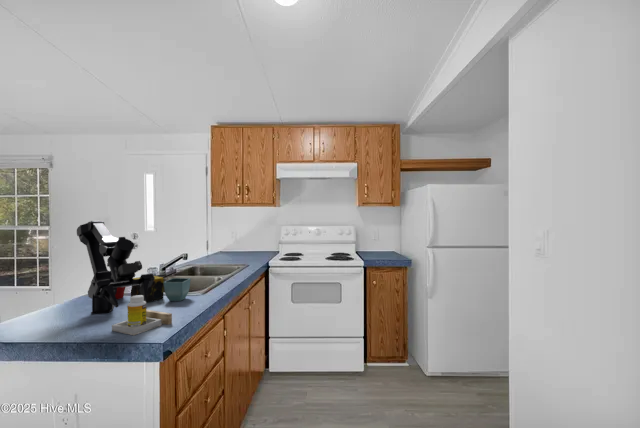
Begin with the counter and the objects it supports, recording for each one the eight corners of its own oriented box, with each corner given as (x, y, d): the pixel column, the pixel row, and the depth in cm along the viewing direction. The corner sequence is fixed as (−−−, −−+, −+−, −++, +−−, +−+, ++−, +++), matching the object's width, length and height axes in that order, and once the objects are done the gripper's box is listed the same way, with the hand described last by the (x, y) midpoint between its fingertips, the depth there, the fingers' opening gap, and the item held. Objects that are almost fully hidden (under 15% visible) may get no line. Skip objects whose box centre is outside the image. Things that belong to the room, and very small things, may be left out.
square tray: (111, 331, 111) (111, 325, 111) (140, 321, 121) (140, 316, 121) (133, 335, 107) (133, 329, 107) (161, 325, 116) (161, 319, 116)
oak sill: (140, 319, 123) (140, 310, 123) (143, 318, 124) (143, 309, 124) (168, 324, 117) (168, 314, 117) (171, 323, 118) (171, 313, 118)
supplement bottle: (144, 328, 112) (144, 297, 112) (125, 330, 110) (125, 299, 110) (147, 323, 117) (147, 293, 117) (130, 324, 116) (130, 295, 116)
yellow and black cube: (130, 300, 150) (129, 278, 150) (152, 296, 159) (152, 275, 159) (141, 304, 144) (141, 281, 144) (164, 299, 153) (164, 277, 153)
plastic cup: (135, 296, 158) (135, 270, 158) (114, 302, 148) (114, 274, 148) (118, 294, 161) (117, 269, 161) (96, 300, 151) (96, 273, 151)
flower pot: (183, 302, 146) (182, 282, 146) (163, 302, 147) (163, 282, 147) (191, 297, 155) (191, 278, 155) (172, 297, 155) (172, 278, 155)
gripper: (95, 257, 112) (108, 295, 105) (152, 251, 126) (166, 285, 120) (87, 277, 117) (99, 315, 110) (143, 270, 132) (156, 303, 125)
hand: (132, 303), depth 116 cm, fingers open, 9 cm apart
